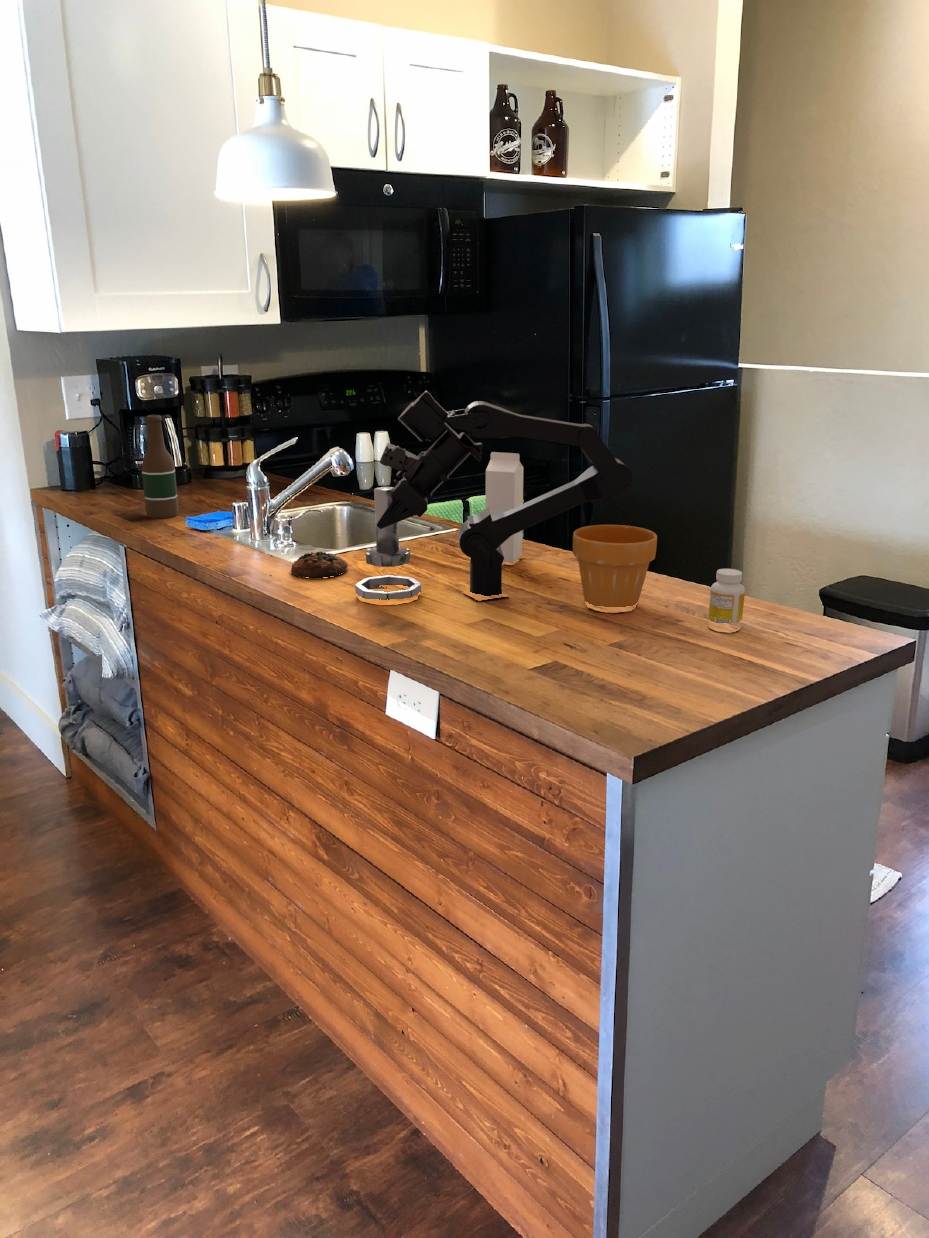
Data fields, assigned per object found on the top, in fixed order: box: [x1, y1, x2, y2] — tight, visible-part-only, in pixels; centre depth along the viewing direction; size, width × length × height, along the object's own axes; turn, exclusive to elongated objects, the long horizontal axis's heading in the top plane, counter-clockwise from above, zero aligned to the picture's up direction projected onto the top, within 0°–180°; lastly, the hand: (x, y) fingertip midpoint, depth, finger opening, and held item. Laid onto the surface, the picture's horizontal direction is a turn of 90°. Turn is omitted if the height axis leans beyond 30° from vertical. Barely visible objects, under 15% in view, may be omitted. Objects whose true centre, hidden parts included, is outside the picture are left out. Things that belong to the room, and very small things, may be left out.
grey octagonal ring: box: [354, 574, 422, 600], centre depth 181 cm, size 11×11×2 cm
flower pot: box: [572, 524, 658, 607], centre depth 174 cm, size 14×14×13 cm
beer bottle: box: [141, 414, 179, 519], centre depth 242 cm, size 8×8×24 cm
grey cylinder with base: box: [365, 486, 411, 568], centre depth 177 cm, size 8×8×13 cm
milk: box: [485, 451, 524, 562], centre depth 201 cm, size 6×6×22 cm
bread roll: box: [290, 551, 349, 578], centre depth 197 cm, size 11×11×5 cm
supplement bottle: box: [707, 568, 746, 623], centre depth 163 cm, size 5×5×10 cm
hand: (378, 524), depth 177 cm, fingers closed on grey cylinder with base, 4 cm apart
